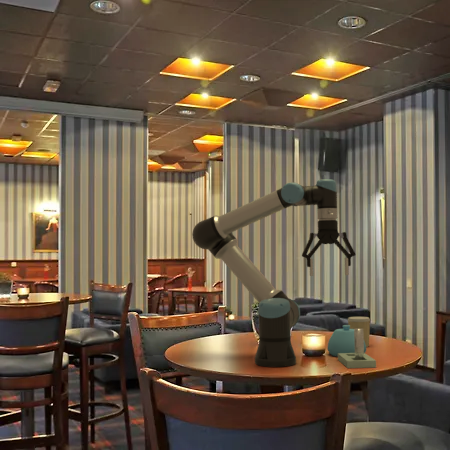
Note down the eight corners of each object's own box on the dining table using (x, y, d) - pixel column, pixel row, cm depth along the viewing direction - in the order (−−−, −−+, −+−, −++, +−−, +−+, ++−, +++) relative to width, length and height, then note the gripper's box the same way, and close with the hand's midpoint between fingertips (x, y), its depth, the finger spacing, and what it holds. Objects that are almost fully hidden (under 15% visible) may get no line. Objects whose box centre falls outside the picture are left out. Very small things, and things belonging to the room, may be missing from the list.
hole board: (348, 368, 209) (347, 361, 209) (337, 359, 225) (337, 353, 225) (376, 367, 210) (376, 360, 210) (364, 359, 226) (363, 352, 226)
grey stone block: (356, 366, 212) (355, 329, 212) (354, 365, 215) (353, 328, 215) (365, 366, 212) (364, 329, 212) (362, 364, 215) (361, 328, 215)
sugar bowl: (337, 350, 246) (336, 322, 247) (372, 353, 238) (371, 324, 238) (321, 356, 234) (320, 326, 235) (357, 359, 225) (356, 328, 226)
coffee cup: (375, 346, 254) (374, 317, 254) (360, 348, 249) (359, 319, 249) (359, 343, 262) (358, 316, 262) (343, 345, 256) (343, 317, 257)
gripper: (296, 220, 225) (298, 276, 225) (362, 218, 226) (364, 275, 225) (293, 221, 233) (295, 275, 232) (357, 219, 233) (359, 274, 233)
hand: (329, 275), depth 229 cm, fingers open, 13 cm apart
